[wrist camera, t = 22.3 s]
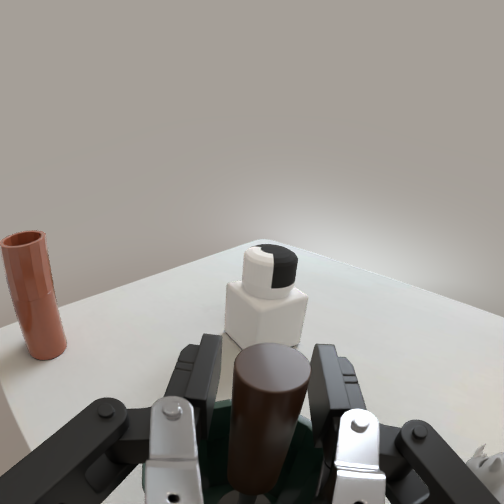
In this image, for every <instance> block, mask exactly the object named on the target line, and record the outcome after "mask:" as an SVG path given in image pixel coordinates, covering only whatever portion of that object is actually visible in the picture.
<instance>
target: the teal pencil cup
mask: <svg viewBox="0 0 504 504" xmlns="http://www.w3.org/2000/svg"><path fill="white" fill-rule="evenodd" d="M231 402H232V399H231V400H230V399H229V400H223V401H218V402H215V404H214V409H213V414H212V419H211V425H210V430H209V435H208V440H201V439H200V444H199V449H198V460H199V469H200V477H201V486H202V493H203V501H204V504H217V503H218V501H219V500H220V498H221V497H222V496H223V495H225V494H226V493H228V492H230V491H233V490H235V489H234V488H233V487H232V486H231V485H230V483H229V482H228V479H227V466H228V450H229V434H230V418H231ZM323 455H324V453H323V448H314V441H313V432H312V423H311V420H309V419H307V418H305V417H304V416H302V415H299V418H298V422H297V425H296V428H295V431H294V434H293V437H292V440H291V443H290V446H289V449H288V452H287V455H286V458H285V461H284V463H283V466H282V469H281V472H280V474H279V477H278V480H277V483H276V485H275V486H274V487H273V488H272V489H271V490H270V491H269V492H267V493H264V494H263V495H265V496H266V497H267V498H268V499H269V501H270V502H271V504H311V502H312V499H313V495H314V491H315V486H316V481H317V477H318V472H319V467H320V462H321V459H322V457H323ZM142 488H143V491H144V493H145V463H142Z"/></svg>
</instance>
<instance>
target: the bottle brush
mask: <svg viewBox="0 0 504 504" xmlns="http://www.w3.org/2000/svg"><path fill="white" fill-rule="evenodd" d="M311 373H312V370H311V365H310V363H309V361H308V359H307V358H306V357H305V356H304V355H303V354H302V353H301V352H299V351H298V350H296V349H294V348H292V347H289V346H286V345H282V344H277V343H260V344H255V345H252V346H249V347H247V348H245V349H244V350H242V351H241V352H240V353H239V354H238V355H237V357H236V359H235V362H234V372H233V387H232V402H231V418H230V434H229V450H228V466H227V479H228V482H229V483H230V485H231V486H232V487H233V488H234V489H235V490H233V491H230V492H228V493H226V494H225V495H223V496H222V497H221V498H220V500H219V501H218V503H217V504H271V502H270V501H269V499H268V498H267V497H266V496H265V495H263V494H264V493H267V492H269V491H270V490H271V489H272V488H273V487H274V486H275V485H276V483H277V480H278V477H279V474H280V472H281V469H282V466H283V463H284V461H285V458H286V455H287V452H288V449H289V446H290V443H291V440H292V437H293V434H294V431H295V428H296V425H297V422H298V418H299V415H300V412H301V409H302V405H303V402H304V399H305V395H306V392H307V388H308V385H309V381H310V378H311Z"/></svg>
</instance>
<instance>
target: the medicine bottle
mask: <svg viewBox="0 0 504 504" xmlns="http://www.w3.org/2000/svg"><path fill="white" fill-rule="evenodd" d="M297 263H298V258H297V256H296V255H295V253H294V252H292V251H291V250H289V249H287V248H285V247H282V246H278V245H272V244H261V245H256V246H253V247H250V248H248V249H247V250H246V251H245V253H244V262H243V274H242V280H238V281H234V282H229V283H227V286H226V306H225V327H224V329H225V332H226V333H227V334H228V335H229V336H230V337H231V338H232V339H233V340H234V341H235V342H236V343H237V344H238V345H239V346H240V347H241V348H242V349H243V350H244V349H245V348H247V347H249V346H252V345H255V344H260V343H277V344H282V345H286V346H289V347H292V346H294V345H297V344H299V343H300V338H301V333H302V328H303V323H304V318H305V313H306V308H307V302H308V296H307V295H306V294H305V293H303V292H301V291H300V290H298V289H297V288H295V287H294V283H295V276H296V269H297Z"/></svg>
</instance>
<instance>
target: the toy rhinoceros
mask: <svg viewBox="0 0 504 504" xmlns="http://www.w3.org/2000/svg"><path fill="white" fill-rule="evenodd" d="M485 445H486V444H483V445H481V446H479V447H478V448H477V450H476V451H475V453H474V455H473V457H472V458H471V459H470V460H468V461H467V462H466V465H467V466H468V467H469V468H470V470H471V471H472V472H473V473H474V474H475V475H476V476H477V477H478V478H479V480H480V481H481V482H482V483H483V484H484V485H485V486H486V487H487V489H488V490H489V491H490V492H491V493H492V494H493V495H494V497H495V498H496V499H497V500H498V501H499V502H500V503H501V504H504V452H500V453H497V454H495V455H493V456H490V457H487V454H486V453H485V454H484V455H483V449H484V447H485Z"/></svg>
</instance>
